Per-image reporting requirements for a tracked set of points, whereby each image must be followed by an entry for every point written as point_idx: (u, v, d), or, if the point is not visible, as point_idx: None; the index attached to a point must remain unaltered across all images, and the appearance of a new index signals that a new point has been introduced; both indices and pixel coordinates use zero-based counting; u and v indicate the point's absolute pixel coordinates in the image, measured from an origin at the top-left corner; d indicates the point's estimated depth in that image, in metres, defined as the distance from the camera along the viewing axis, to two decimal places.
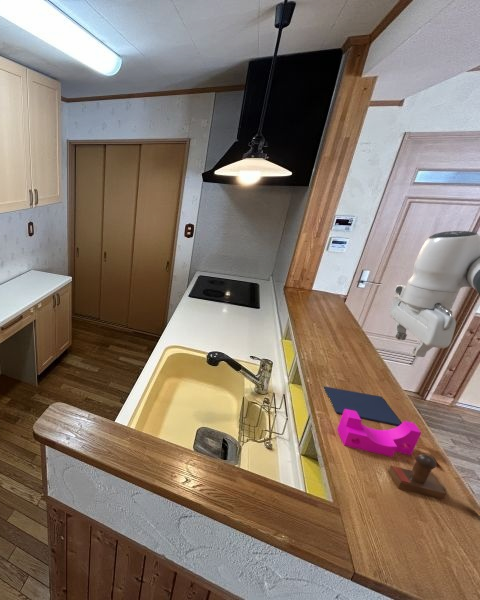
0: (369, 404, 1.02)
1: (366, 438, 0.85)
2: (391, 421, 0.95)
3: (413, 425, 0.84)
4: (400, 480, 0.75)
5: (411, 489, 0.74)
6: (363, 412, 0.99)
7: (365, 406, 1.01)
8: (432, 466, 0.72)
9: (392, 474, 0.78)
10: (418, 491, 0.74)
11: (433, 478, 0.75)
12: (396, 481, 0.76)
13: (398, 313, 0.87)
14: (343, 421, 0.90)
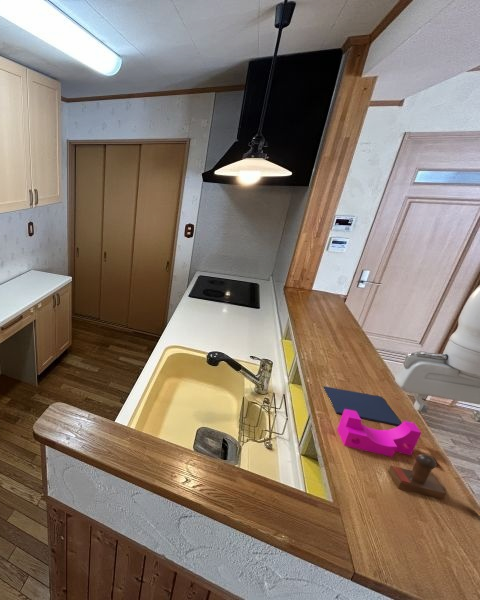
0: (369, 404, 1.02)
1: (366, 438, 0.85)
2: (391, 421, 0.95)
3: (413, 425, 0.84)
4: (400, 480, 0.75)
5: (411, 489, 0.74)
6: (363, 412, 0.99)
7: (365, 406, 1.01)
8: (432, 466, 0.72)
9: (392, 474, 0.78)
10: (418, 491, 0.74)
11: (433, 478, 0.75)
12: (396, 481, 0.76)
13: None
14: (343, 421, 0.90)
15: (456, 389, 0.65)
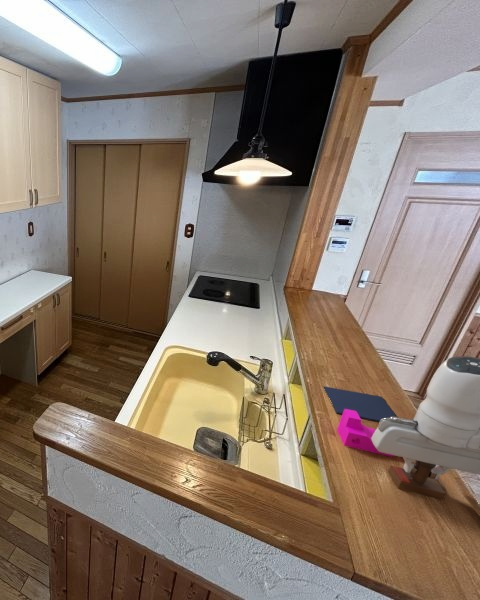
0: (369, 404, 1.02)
1: (366, 438, 0.85)
2: None
3: None
4: (400, 480, 0.75)
5: (411, 489, 0.74)
6: (363, 412, 0.99)
7: (365, 406, 1.01)
8: (432, 466, 0.72)
9: (392, 474, 0.78)
10: (418, 491, 0.74)
11: None
12: (396, 481, 0.76)
13: None
14: (343, 421, 0.90)
15: (425, 453, 0.71)
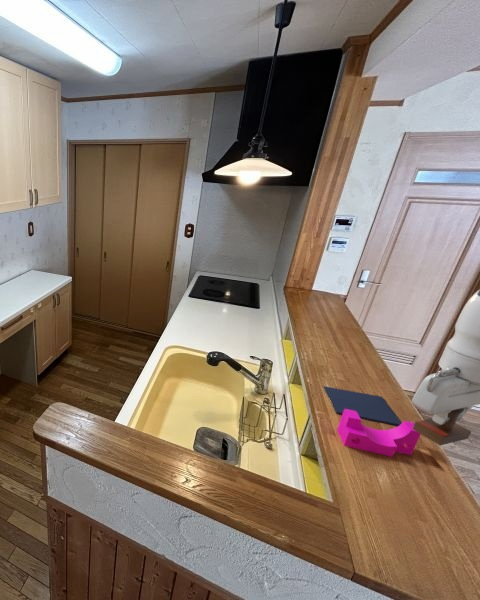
0: (369, 404, 1.02)
1: (366, 438, 0.85)
2: (391, 421, 0.95)
3: (413, 425, 0.84)
4: (441, 436, 0.67)
5: (449, 441, 0.68)
6: (363, 412, 0.99)
7: (365, 406, 1.01)
8: (464, 409, 0.67)
9: (422, 431, 0.70)
10: (453, 440, 0.68)
11: None
12: (434, 438, 0.68)
13: None
14: (343, 421, 0.90)
15: (464, 399, 0.65)
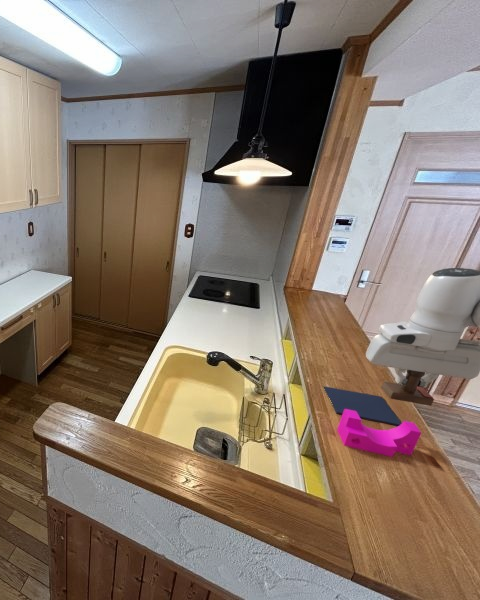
0: (369, 404, 1.02)
1: (366, 438, 0.85)
2: (391, 421, 0.95)
3: (413, 425, 0.84)
4: None
5: None
6: (363, 412, 0.99)
7: (365, 406, 1.01)
8: None
9: None
10: None
11: (393, 390, 0.82)
12: None
13: (396, 359, 0.79)
14: (343, 421, 0.90)
15: None
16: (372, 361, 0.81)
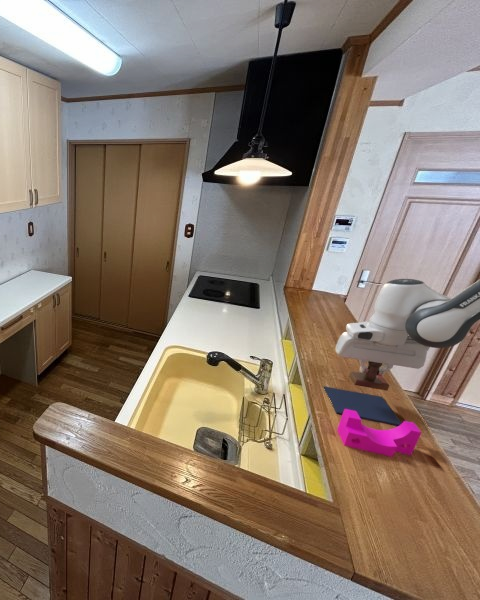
0: (369, 404, 1.02)
1: (366, 438, 0.85)
2: (391, 421, 0.95)
3: (413, 425, 0.84)
4: None
5: None
6: (363, 412, 0.99)
7: (365, 406, 1.01)
8: None
9: None
10: None
11: (357, 378, 0.99)
12: None
13: (359, 352, 0.96)
14: (343, 421, 0.90)
15: None
16: (339, 354, 0.98)
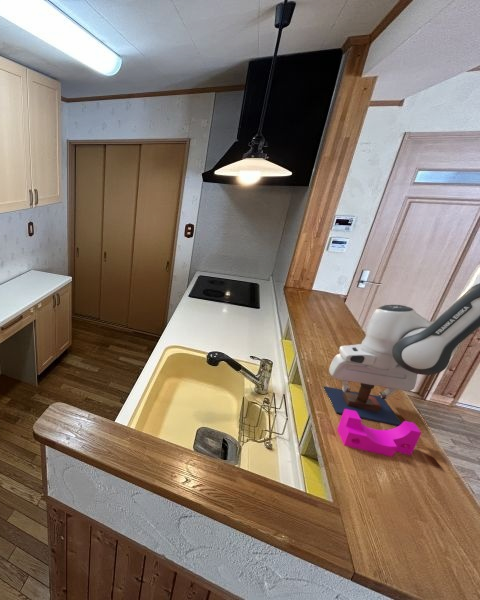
0: None
1: (366, 438, 0.85)
2: (391, 421, 0.95)
3: (413, 425, 0.84)
4: (374, 397, 1.02)
5: None
6: (363, 412, 0.99)
7: None
8: None
9: None
10: None
11: (350, 398, 1.01)
12: None
13: (351, 375, 0.99)
14: (343, 421, 0.90)
15: None
16: (333, 375, 1.01)
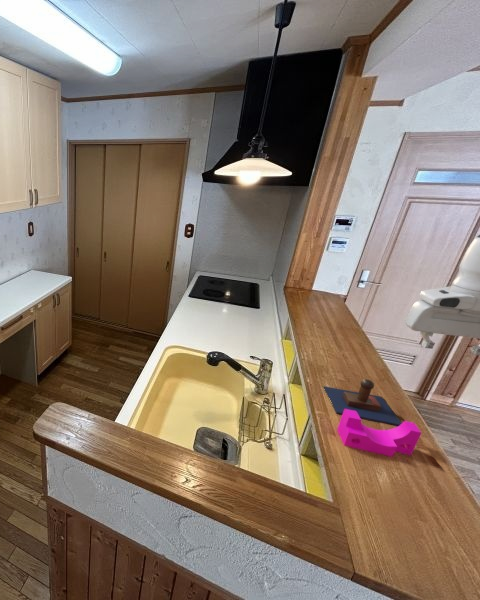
0: None
1: (366, 438, 0.85)
2: (391, 421, 0.95)
3: (413, 425, 0.84)
4: (374, 397, 1.02)
5: None
6: (363, 412, 0.99)
7: None
8: None
9: None
10: None
11: (350, 398, 1.01)
12: None
13: (438, 324, 0.79)
14: (343, 421, 0.90)
15: None
16: (413, 327, 0.81)
